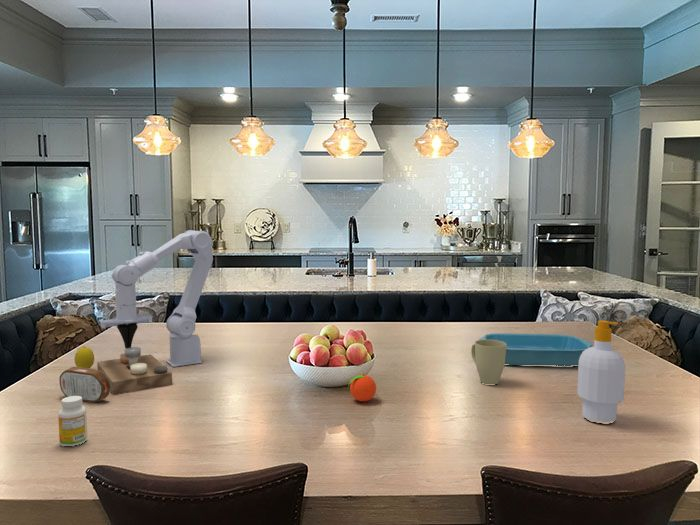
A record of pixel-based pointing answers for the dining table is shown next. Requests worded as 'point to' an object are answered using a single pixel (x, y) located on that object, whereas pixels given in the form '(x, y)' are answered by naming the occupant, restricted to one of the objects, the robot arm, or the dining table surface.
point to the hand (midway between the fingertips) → (128, 347)
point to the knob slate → (132, 354)
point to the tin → (85, 384)
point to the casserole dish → (541, 348)
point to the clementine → (362, 388)
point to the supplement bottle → (72, 421)
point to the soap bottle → (601, 377)
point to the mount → (128, 382)
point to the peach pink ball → (124, 358)
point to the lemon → (84, 357)
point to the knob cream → (138, 368)
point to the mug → (489, 359)
